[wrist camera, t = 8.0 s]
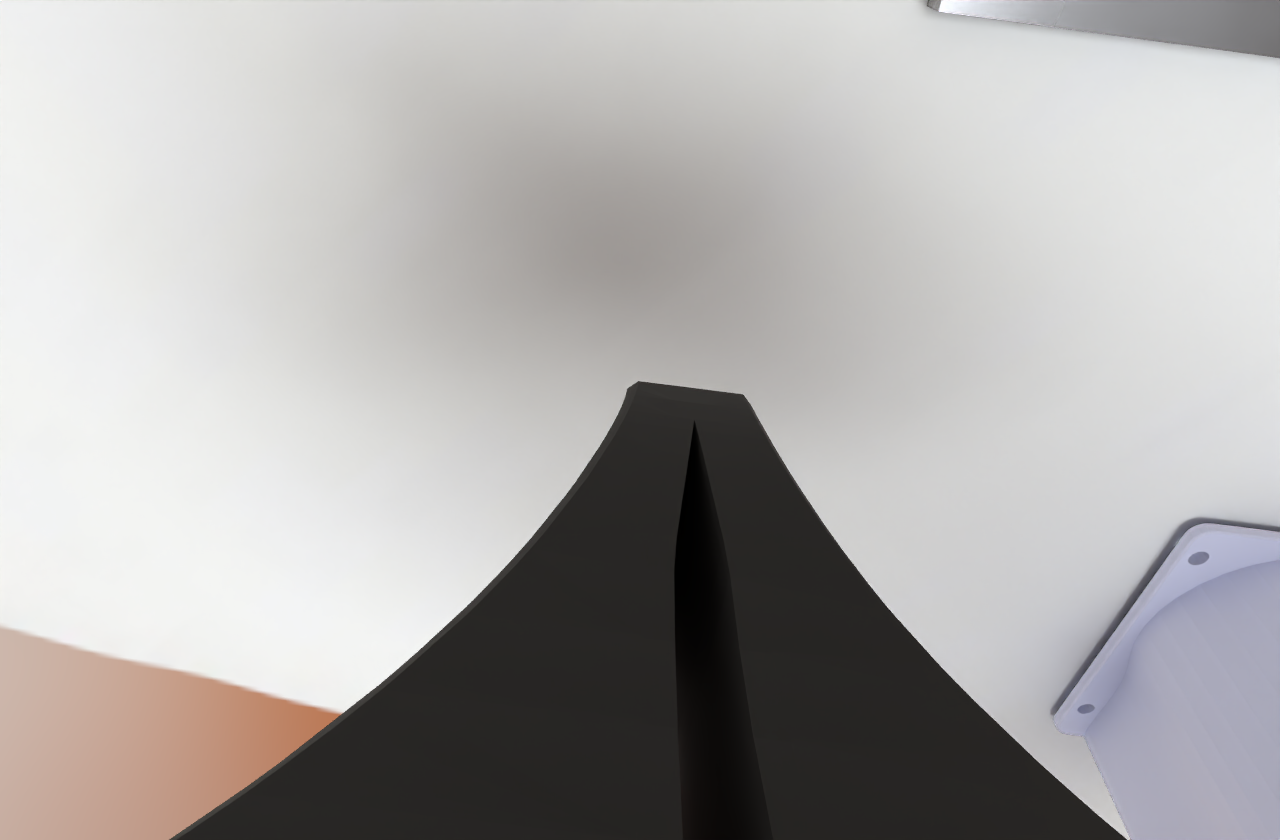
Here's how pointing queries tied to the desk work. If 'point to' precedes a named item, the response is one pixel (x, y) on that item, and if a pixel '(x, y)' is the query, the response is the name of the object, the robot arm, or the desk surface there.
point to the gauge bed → (1145, 19)
